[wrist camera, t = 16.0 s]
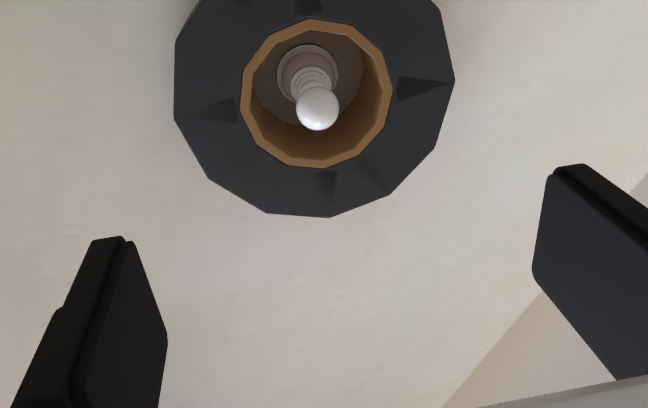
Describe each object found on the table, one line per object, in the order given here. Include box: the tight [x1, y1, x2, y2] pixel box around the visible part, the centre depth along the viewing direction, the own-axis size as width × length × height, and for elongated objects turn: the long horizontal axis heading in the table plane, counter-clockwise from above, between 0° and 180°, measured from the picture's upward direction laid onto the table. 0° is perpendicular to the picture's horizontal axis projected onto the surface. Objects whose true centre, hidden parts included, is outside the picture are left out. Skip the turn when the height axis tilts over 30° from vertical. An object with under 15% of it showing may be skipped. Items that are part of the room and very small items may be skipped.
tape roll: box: [173, 0, 455, 218], centre depth 21 cm, size 11×11×4 cm
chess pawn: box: [277, 44, 339, 130], centre depth 21 cm, size 3×3×5 cm
